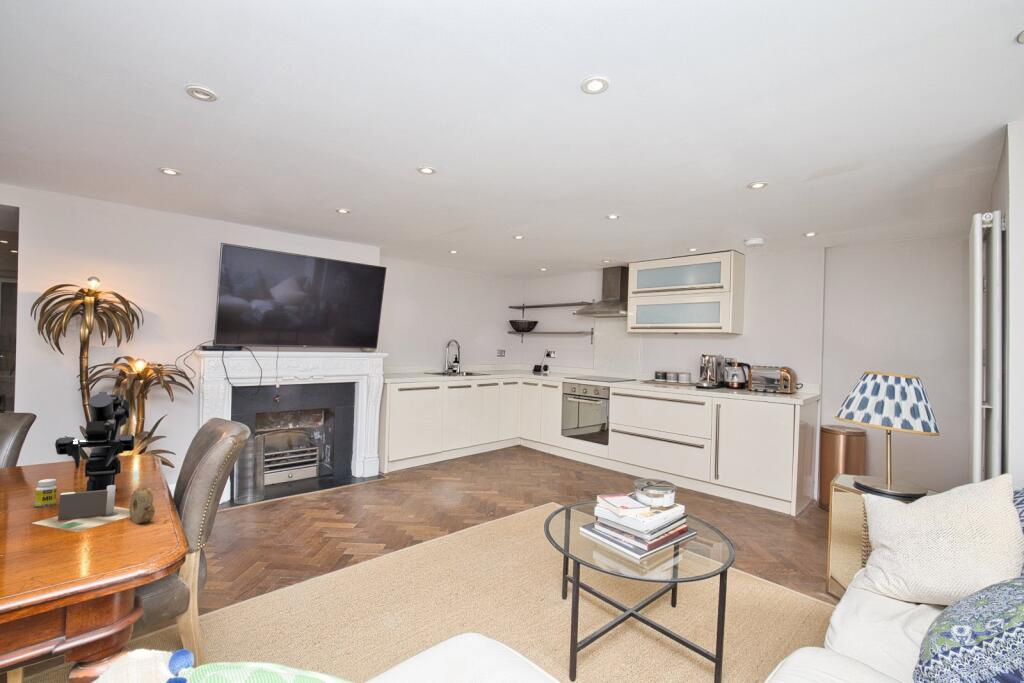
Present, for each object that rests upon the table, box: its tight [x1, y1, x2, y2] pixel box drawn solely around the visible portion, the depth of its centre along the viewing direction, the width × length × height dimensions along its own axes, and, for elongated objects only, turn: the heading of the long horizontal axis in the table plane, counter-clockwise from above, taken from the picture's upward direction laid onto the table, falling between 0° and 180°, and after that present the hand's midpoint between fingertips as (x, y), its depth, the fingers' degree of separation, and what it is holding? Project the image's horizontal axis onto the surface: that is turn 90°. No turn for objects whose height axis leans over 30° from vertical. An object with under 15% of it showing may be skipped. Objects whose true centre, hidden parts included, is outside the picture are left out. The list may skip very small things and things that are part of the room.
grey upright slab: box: [57, 484, 117, 521], centre depth 134 cm, size 12×2×8 cm, turn 124°
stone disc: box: [128, 486, 156, 524], centre depth 134 cm, size 10×4×10 cm, turn 57°
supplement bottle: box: [33, 478, 58, 509], centre depth 142 cm, size 5×5×8 cm
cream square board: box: [32, 506, 131, 533], centre depth 135 cm, size 18×18×1 cm
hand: (91, 467), depth 142 cm, fingers open, 6 cm apart
